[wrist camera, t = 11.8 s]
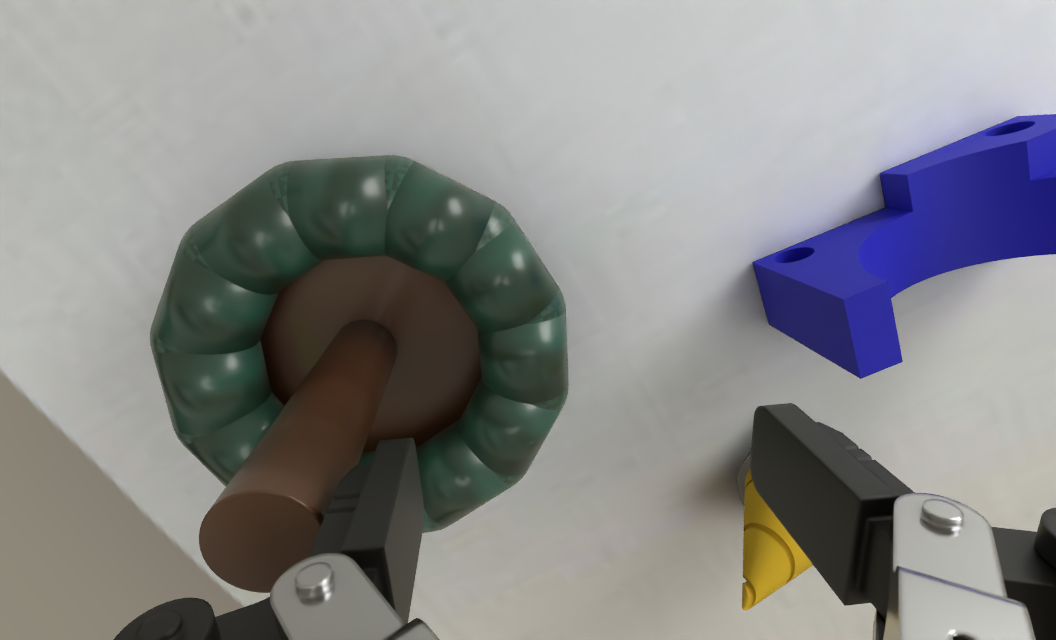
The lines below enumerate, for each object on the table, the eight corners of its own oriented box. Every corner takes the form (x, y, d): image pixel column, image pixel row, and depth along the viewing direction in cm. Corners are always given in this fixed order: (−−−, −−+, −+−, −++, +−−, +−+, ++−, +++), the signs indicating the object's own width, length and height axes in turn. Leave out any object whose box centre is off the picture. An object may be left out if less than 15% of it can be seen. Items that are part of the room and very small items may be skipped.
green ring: (141, 169, 19) (76, 173, 16) (552, 145, 20) (567, 145, 17) (230, 520, 23) (193, 577, 20) (565, 484, 24) (579, 533, 21)
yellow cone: (815, 513, 28) (740, 674, 22) (743, 430, 29) (650, 561, 22) (917, 483, 24) (863, 669, 18) (831, 387, 25) (748, 532, 18)
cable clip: (1017, 116, 23) (1202, 105, 17) (1027, 219, 24) (1200, 241, 18) (743, 229, 23) (834, 256, 17) (769, 324, 24) (860, 378, 19)
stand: (234, 235, 21) (-75, 349, 9) (471, 218, 22) (473, 303, 10) (280, 445, 24) (90, 743, 12) (490, 424, 24) (508, 686, 12)
